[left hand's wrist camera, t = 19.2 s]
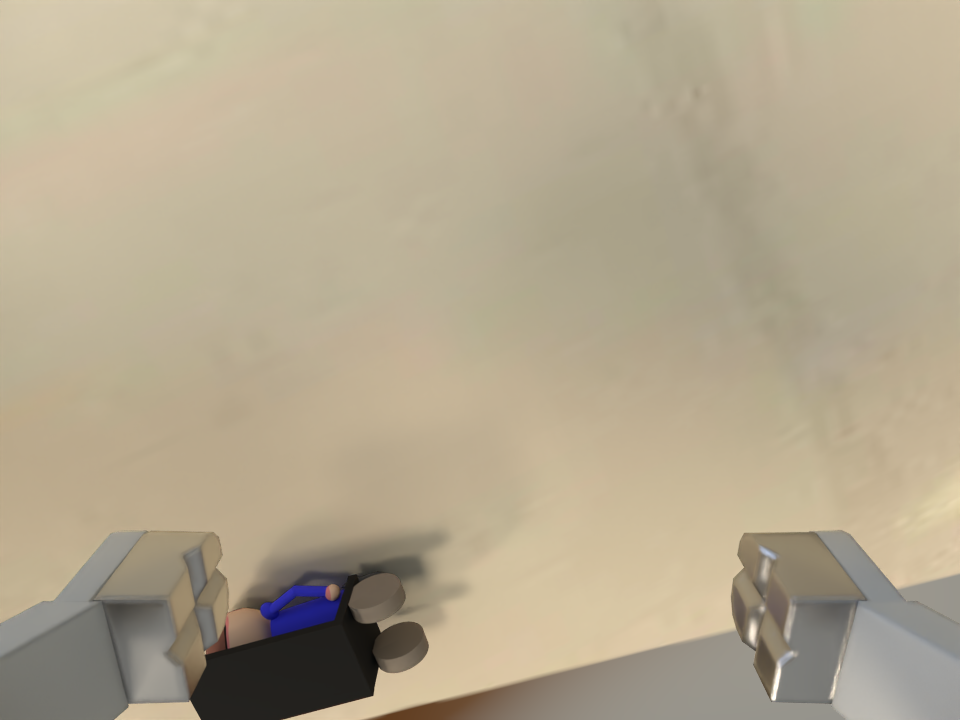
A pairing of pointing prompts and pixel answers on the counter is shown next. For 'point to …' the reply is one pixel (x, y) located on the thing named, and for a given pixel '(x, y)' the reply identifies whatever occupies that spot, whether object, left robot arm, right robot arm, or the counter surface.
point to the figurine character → (307, 651)
